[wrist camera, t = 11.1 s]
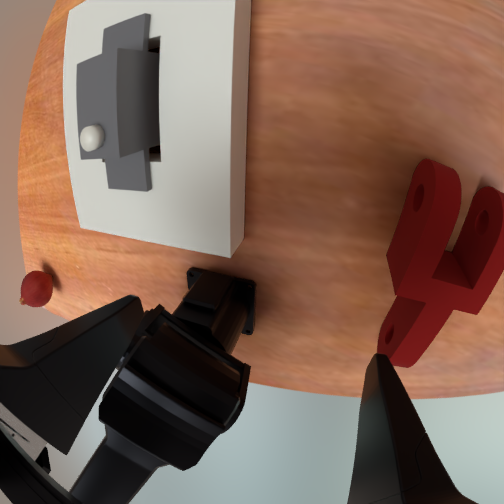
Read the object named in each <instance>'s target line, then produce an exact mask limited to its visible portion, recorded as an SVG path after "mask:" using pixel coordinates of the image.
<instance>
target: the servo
mask: <svg viewBox="0 0 504 504" xmlns="http://www.w3.org/2000/svg"><path fill="white" fill-rule="evenodd" d="M150 18H151V15H150V14H147V13H144V14H141V15H138V16H135V17H132V18H130V19H127V20H124V21H122V22H119V23H117V24H114V25H112V26H109V27H107V28H105V29H104V31H103V43H102V54H99V55H97V56H94V57H92V58H90V59H87V60H85V61H83V62H80V63H78V64H77V73H76V101H77V124H78V137H79V148H80V157H81V160H87V159H105V165H106V174H107V181H108V188H109V189H119V190H132V191H144V192H148V191H150V190H151V189H152V183H151V171H150V158H149V148H151V147H155V146H158V145H160V125H159V62H160V53H154V52H148V45H149V30H150Z"/></svg>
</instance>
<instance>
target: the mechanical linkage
mask: <svg viewBox="0 0 504 504" xmlns="http://www.w3.org/2000/svg"><path fill="white" fill-rule="evenodd" d="M460 205H461V183H460V179H459V176H458V174H457V172H456V171H455V170H454V169H452V168H450V167H447V166H445V165H442V164H440V163H437V162H435V161H432V160H430V159H424V160H422V161H421V162H420V163H419V165H418V166H417V168H416V170H415V172H414V174H413V177H412V181H411V184H410V188H409V191H408V194H407V198H406V201H405V204H404V207H403V210H402V213H401V216H400V219H399V222H398V225H397V228H396V231H395V234H394V236H393V239H392V242H391V244H390V247H389V250H388V252H387V255H386V256H387V260H388V265H389V269H390V273H391V278H392V282H393V287H394V292H395V295H397V297H396V299H395V301H394V303H393V305H392V307H391V309H390V311H389V312H388V314H387V316H386V318H385V320H384V322H383V324H382V327H381V330H380V334H379V339H378V346H377V353H381V354H386V355H387V356H388V358H389V360H390V362H391V363H392V365H393V366H399V367H406V368H409V367H411V366H413V365H414V364H415V363H416V362H417V361H418V359H419V358H420V357H421V356H422V354H423V353H424V352H425V350H426V349H427V348H428V346H429V345H430V344H431V342H432V341H433V340H434V338H435V337H436V335H437V334H438V332H439V331H440V330H441V328H442V327H443V325H444V324H445V322H446V321H447V319H448V318H449V316H450V315H451V313H452V311H453V310H458V311H462V312H467V313H471V314H475V315H477V314H478V313H479V311H480V310H481V308H482V307H483V305H484V304H485V302H486V300H487V299H488V297H489V295H490V294H491V292H492V290H493V288H494V287H495V285H496V283H497V281H498V280H499V278H500V276H501V274H502V272H503V270H504V193H502V192H500V191H498V190H496V189H494V188H492V187H489V186H487V187H484V188H482V189H480V190H479V191H478V192H477V193H476V195H475V196H474V197H473V200H472V203H471V206H470V209H469V211H468V214H467V217H466V219H465V222H464V225H463V227H462V230H461V232H460V235H459V237H458V239H457V242H456V244H455V246H454V249H453V251H452V253H451V252H448V251H445V248H446V245H447V243H448V241H449V238H450V236H451V234H452V231H453V229H454V226H455V223H456V221H457V218H458V214H459V210H460Z"/></svg>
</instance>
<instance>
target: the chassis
mask: <svg viewBox="0 0 504 504" xmlns="http://www.w3.org/2000/svg"><path fill="white" fill-rule="evenodd" d="M144 13H147V14H150V15H151V18H150V30H149V45H148V50H149V49H153V48H157V47H160V62H159V125H160V149H161V153H149V158H150V171H151V183H152V189H151V190H150V191H148V192H144V191H132V190H119V189H109V188H108V181H107V174H106V165H105V159H87V160H81V157H80V148H79V137H78V124H77V101H76V73H77V64H78V63H80V62H83V61H85V60H87V59H90V58H92V57H94V56H97V55H99V54H102V43H103V31H104V29H105V28H107V27H109V26H112V25H114V24H117V23H119V22H122V21H124V20H127V19H130V18H132V17H135V16H138V15H141V14H144ZM250 20H251V0H86V1H85V2H83V3H81V4H80V5H78V6H76V7H75V8H73V9H71V10H70V11H69V15H68V22H67V30H66V38H65V50H64V67H63V108H64V126H65V138H66V148H67V157H68V164H69V171H70V178H71V184H72V189H73V195H74V200H75V205H76V209H77V214H78V218H79V223H80V227H81V228H85V229H89V230H94V231H99V232H104V233H109V234H113V235H118V236H123V237H128V238H133V239H138V240H143V241H147V242H152V243H157V244H162V245H167V246H172V247H177V248H182V249H187V250H192V251H197V252H202V253H207V254H213V255H218V256H223V257H228V258H231V256H232V255H233V254H234V252H235V251H236V249H237V248H238V247H239V245H240V244H241V242H242V241H243V239H244V213H245V171H246V135H247V102H248V72H249V45H250Z"/></svg>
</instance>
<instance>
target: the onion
mask: <svg viewBox="0 0 504 504" xmlns="http://www.w3.org/2000/svg"><path fill="white" fill-rule="evenodd" d="M52 293H53V277H52V276H51V275H50V274H47V273H44V272H41V271H32V272H30V273H28V274H27V275H26V276H25V278H24V279H23V282H22V285H21V298H20V300H19V302H20V304H21V305H24V304H27V305H29V306H32V307H41V306H44V305H45V304H47V303H48V302H49V300H50V299H51V296H52Z"/></svg>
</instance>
